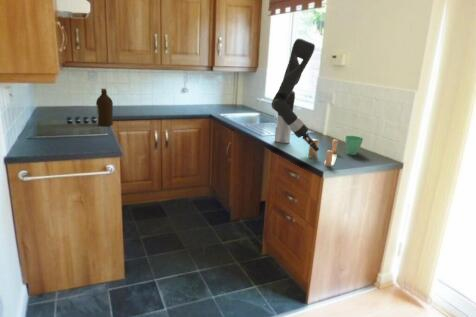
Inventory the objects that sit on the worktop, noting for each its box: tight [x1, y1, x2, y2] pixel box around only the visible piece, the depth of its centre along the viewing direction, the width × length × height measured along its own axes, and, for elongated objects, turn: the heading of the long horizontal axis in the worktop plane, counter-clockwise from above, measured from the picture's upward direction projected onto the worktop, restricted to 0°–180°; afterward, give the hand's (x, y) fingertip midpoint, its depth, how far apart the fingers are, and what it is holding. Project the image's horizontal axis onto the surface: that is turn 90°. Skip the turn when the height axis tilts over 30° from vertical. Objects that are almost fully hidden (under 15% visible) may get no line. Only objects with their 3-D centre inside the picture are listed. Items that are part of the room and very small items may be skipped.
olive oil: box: [95, 88, 114, 127], centre depth 249 cm, size 11×11×25 cm
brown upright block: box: [307, 138, 320, 159], centre depth 203 cm, size 5×5×10 cm
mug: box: [345, 135, 364, 156], centre depth 217 cm, size 15×10×10 cm
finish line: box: [323, 139, 339, 168], centre depth 201 cm, size 5×31×8 cm, turn 160°
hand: (316, 148), depth 202 cm, fingers open, 8 cm apart
